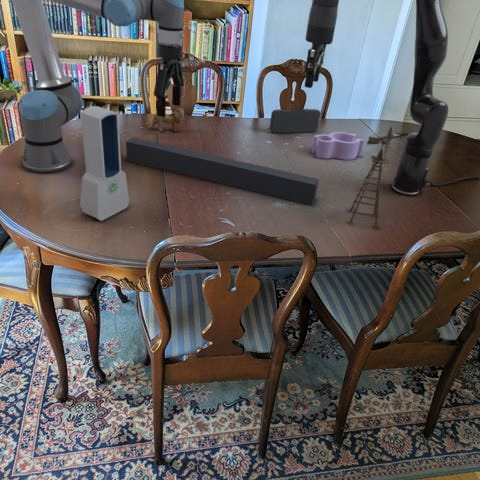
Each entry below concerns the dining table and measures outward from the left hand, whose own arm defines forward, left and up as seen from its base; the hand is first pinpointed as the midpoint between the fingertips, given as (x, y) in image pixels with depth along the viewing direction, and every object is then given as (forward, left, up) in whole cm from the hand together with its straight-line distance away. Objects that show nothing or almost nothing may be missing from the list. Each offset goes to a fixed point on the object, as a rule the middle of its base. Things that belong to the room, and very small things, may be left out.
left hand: (168, 110), depth 157 cm
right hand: (+45, -12, +17) cm, 50 cm away
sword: (+88, +60, -20) cm, 108 cm away
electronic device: (-9, -38, -20) cm, 43 cm away
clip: (+62, +32, -20) cm, 73 cm away
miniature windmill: (+68, -21, -20) cm, 74 cm away
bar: (+19, -6, -20) cm, 28 cm away
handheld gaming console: (+44, +52, -20) cm, 71 cm away
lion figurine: (-9, +34, -20) cm, 41 cm away
